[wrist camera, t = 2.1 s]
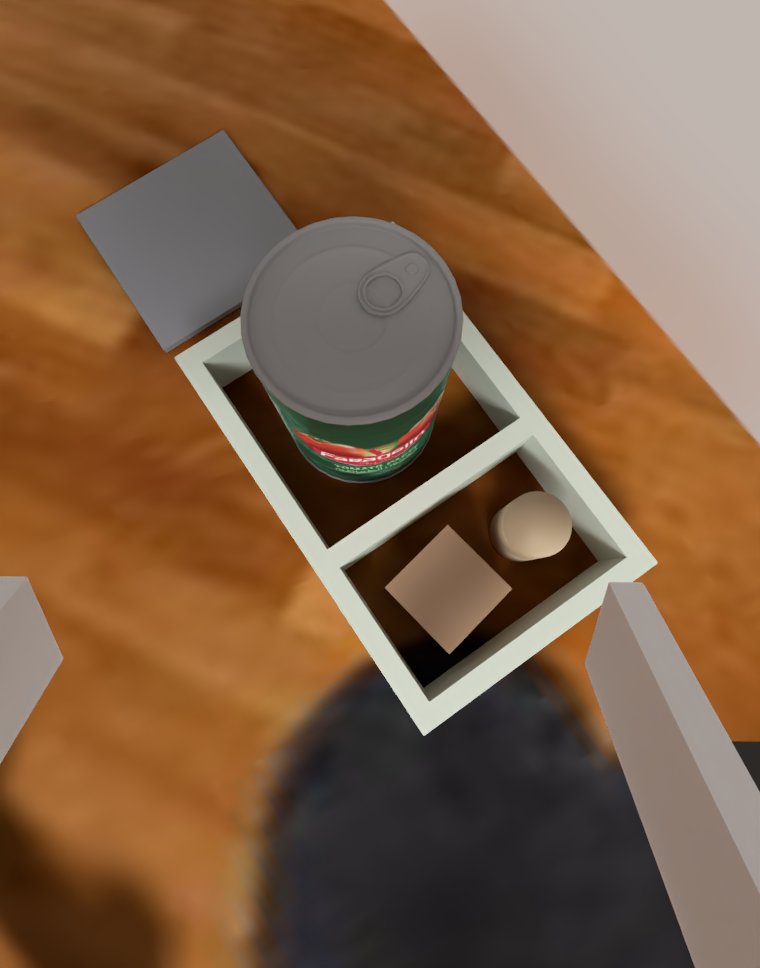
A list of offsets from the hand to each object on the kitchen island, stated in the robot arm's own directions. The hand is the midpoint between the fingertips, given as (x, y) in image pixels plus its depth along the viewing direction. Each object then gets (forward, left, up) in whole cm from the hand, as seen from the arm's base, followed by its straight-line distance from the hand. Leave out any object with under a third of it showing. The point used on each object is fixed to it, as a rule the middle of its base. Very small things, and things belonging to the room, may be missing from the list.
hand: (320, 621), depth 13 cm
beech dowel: (+2, +9, -16) cm, 18 cm away
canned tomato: (-8, +6, -16) cm, 19 cm away
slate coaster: (-22, +4, -16) cm, 27 cm away
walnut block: (+2, +4, -16) cm, 16 cm away
